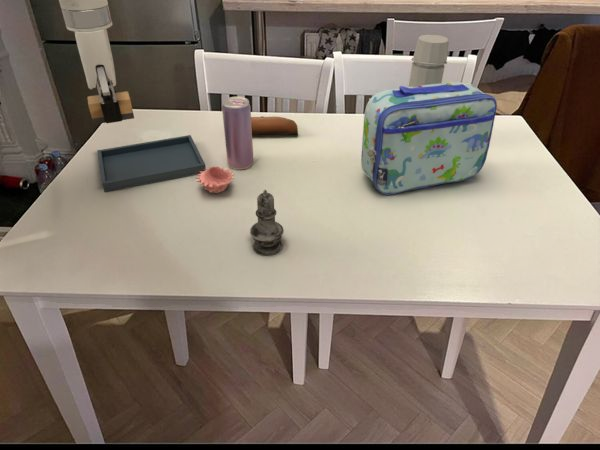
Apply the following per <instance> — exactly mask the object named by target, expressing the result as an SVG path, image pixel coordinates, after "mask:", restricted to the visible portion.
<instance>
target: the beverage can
mask: <svg viewBox="0 0 600 450" xmlns="http://www.w3.org/2000/svg"><path fill="white" fill-rule="evenodd" d="M221 111H222V121H223V133H224V141H225V143H224V144H225V150H226V151H225V152H226V162H227V166H229V167H230V168H231V169H232V170H236V171H242V170H247V169H249V168H251V167H252V165H254V160H255V159H254V145H253V143H254V142H253V134H252V125H251V117H252V109H251V105H250V100H249V99H248V98H247V97H243V96H230V97H227V98H225V99H224V100H222V105H221Z"/></svg>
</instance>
